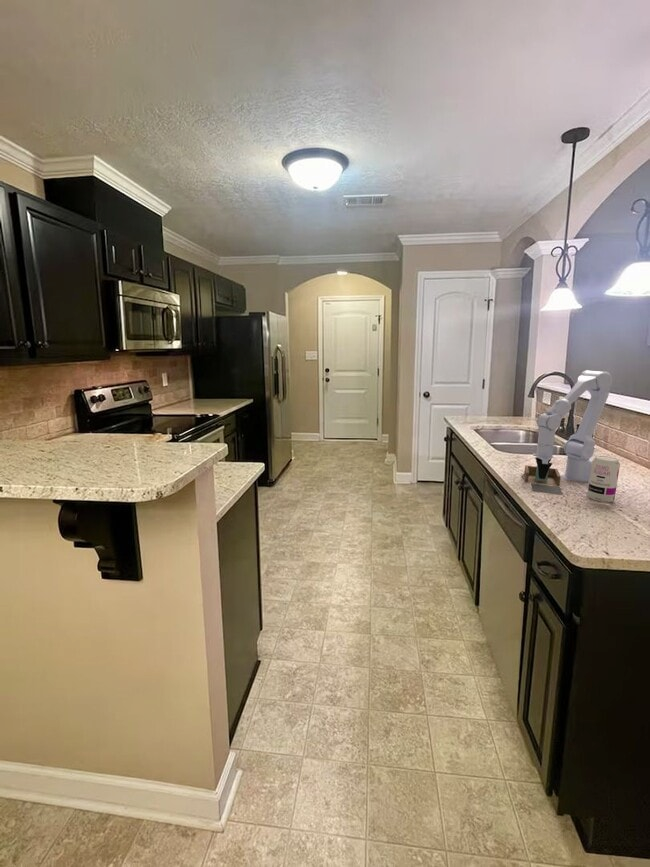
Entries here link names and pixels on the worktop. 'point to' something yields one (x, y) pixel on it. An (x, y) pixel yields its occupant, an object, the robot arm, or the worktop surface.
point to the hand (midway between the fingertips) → (541, 477)
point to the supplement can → (603, 478)
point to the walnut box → (552, 480)
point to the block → (538, 476)
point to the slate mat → (546, 489)
